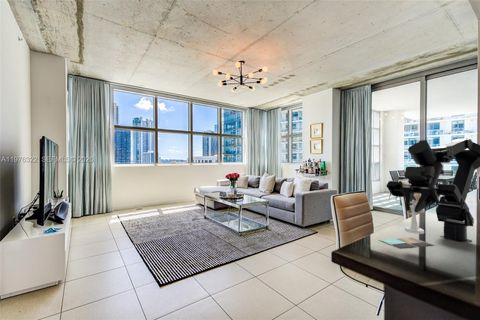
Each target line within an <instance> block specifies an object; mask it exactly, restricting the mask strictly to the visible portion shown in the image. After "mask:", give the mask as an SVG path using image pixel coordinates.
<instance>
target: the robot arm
mask: <svg viewBox="0 0 480 320" xmlns="http://www.w3.org/2000/svg"><path fill="white" fill-rule="evenodd" d="M407 151H408V153H409V155H410V157H411V158H412V159H413V161H414V163H415V165H418V166H405V170H404V175H403V177H405V178H407V179H408V180H407V184H406V183H403V182H402V181H399V180H398V181H396V180H388V182H387V184H386V188H387V189H388V191H389V193H390V195H391V196H393V197H399V198H405V199H404V200H405V210H406V212H409V211H411V209H410V205H412V203H410V202H412V200H414V202H417V203H415V206H416V207H415V210H414V211H415V212H416V213H419V212H421V211H422V210H423V209H424V210H425V208H428V207H429V206H431V205H434V204H437V205H436V207H435V212H436V217H437V221H438V222H441V223H443V235H440V236H439V237H440V238H443V239H447V240H451V241H453V242H458V243H463V242H464V243H465V242H469V243H473V240H472V239H468V231H467V230H468V229H467V227H474V223H475V222H474V221H475V220H474V217H473V215H472V213H471V212H470V208H469V205H468V204H467V202H466V199H467V196H468V193H469V190H470V187H471V185H472V180H473V177H474V174H475V171H476V170H477V169H479V168H480V144H479V143H476V142H474V141H473V140H472V139H471V138H457V139H456V138H455V139H453V140H451V141H450V142H447V143H444V144H442V145H440V146H430V143H429V142H428V141H427V139H422V140H421V139H420V140H418V142H416V143H413V144H412V145H410V146H408V149H407ZM453 160H455V162H456V163H457V165H458V166H457V168H456V172H455V175H454V177H453V179H452V180H453V181H452V183H440V182H439V181H438V180H439V178H440V175H444V174H445V171H444V165H443V164H448V163H450V162H452V161H453ZM435 186H437V187H435ZM414 194H415V195H416V194H418V195H420V197H419V198H418V201H417V198H416V197H415V195H414Z"/></svg>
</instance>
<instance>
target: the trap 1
mask: <svg viewBox="0 0 480 320" xmlns="http://www.w3.org/2000/svg"><path fill="white" fill-rule="evenodd" d="M393 246H396V247H398V248H405V249H412V248H411V247H416V246H413V245H410V244H397V245H393ZM393 246H392V247H393ZM396 247H395V248H396ZM398 248H397V249H398ZM416 248H417V247H416Z"/></svg>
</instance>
